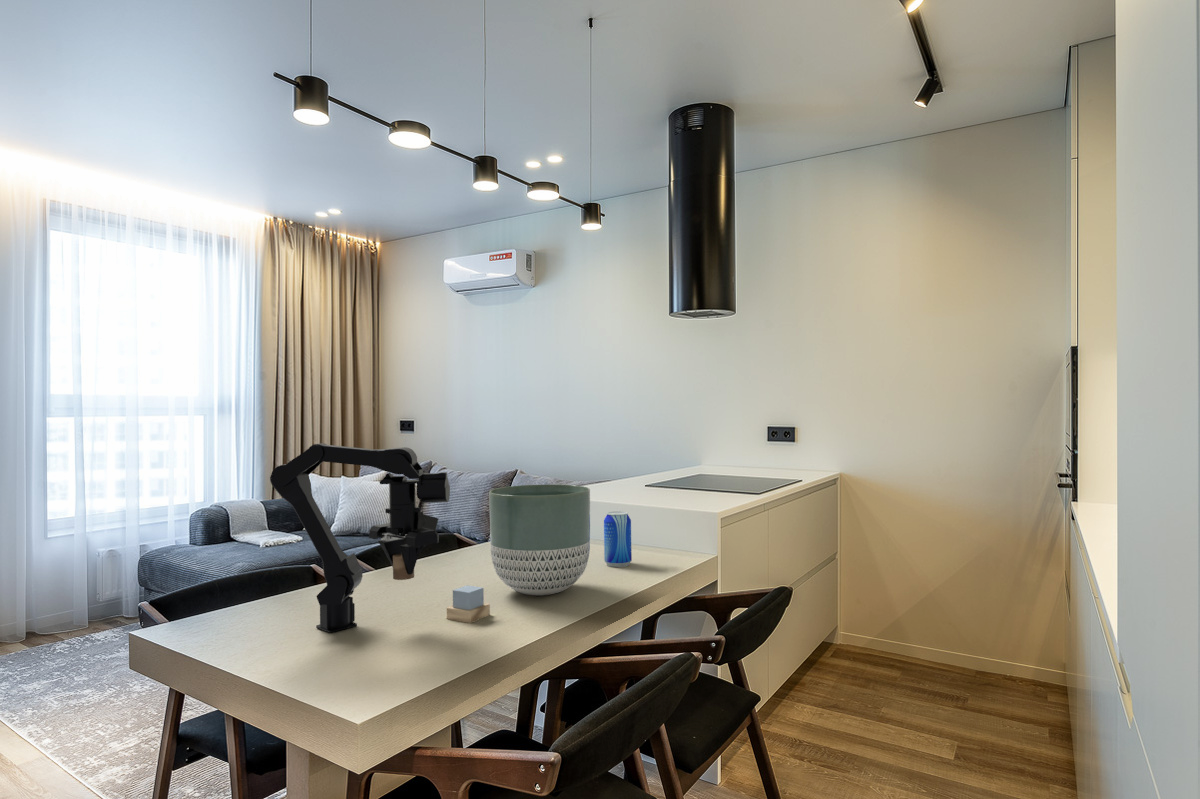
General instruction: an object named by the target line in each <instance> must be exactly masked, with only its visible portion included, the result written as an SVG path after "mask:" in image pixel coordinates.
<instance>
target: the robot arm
mask: <svg viewBox="0 0 1200 799" xmlns="http://www.w3.org/2000/svg"><path fill="white" fill-rule="evenodd" d="M324 462H325V463H334V464H335V463H336V464H344V465H354V466H366V467H372V468H376V469H378V470H380V471H382V472H383V471H384V472H387V473H386V474H385V476H384V477H383V478H382V479H381V480H380V481H379V484H380V485H388V486H389V488H388V491H389V493H388V494H389V497H388V498H389V504H388V505H389V507H387V508H385V514H388V515H389V522H388V523H381V524H375V525H371V527H370V528H369V530H368V532H369V533H368V538H369V539H372V540H378V541H377V544H379V545H380V546H381V549H382V550H383V552H384V554H385V555H386V557H387V559H388V561H389V563H390V565H391V567H392V568H393V555H395V554H401V553H402V557H403V561H404V564H405V568H406V571H407V574H408V575H410V574H412V573H413V571H414V572H415V566H416V564H417V561H418V557H419V555H420V553H421V550H422V549H424V548H425V547H426V546H428V545H434V544H438V543H439V533H438V531H436V530H437V526H438V521H439V518H438V517H434V516H430V515H428V514H424V512H423V511H422V509H421V508H420V507H419V506H416V505H417V504H416V503H417V502H416V498H417V499H418V500H419V501H420V500H421V502H422V503H423V504H425V503H427V504H428V503H429V504H431V503H432V504H433V503H448V502H449V501H450V496H451V486H450V482H449V478H448V472H447V471H441V472H435V473H434V472H432V473H431V472H430V473H429V472H428V473H427V472H426V471H425V470H424V468H423V467H422V465H421V464H420V463H419V461H418V456H417V454H416V452H415V451H414V449H412V448H411V447H393V448H381V449H373V448H372V449H371V448H363V447H353V446H352V447H351V446H345V445H344V446H341V445H332V444H331V445H330V444H326V443H323V442H322V443H313V444H311V445H310V446H309V447H308V448H307V449H306V450H304V451H303V452H302V453H301V454H299V455H298V456H296V457H295V458H292V459H291V460H289V462H287V463H284V464H281V465H277V466H276V467H275V468H274V469H272V471H271V474H270V477H269V481H270V484H271V486H272V487H273V488H274V490H275V491H276V492H277V493H278V495H279V496H280V497H281V498H283V499H284V500H285V501H286V502H287V503H289V504H290V505H291V506H292V508H293V509H294V511H295V514H296V515H297V517H298V519H299V521H300V522H301V524H302V526H303V528H304V530H305V531H306V534H307V535H308V537H309V539H310V541H311V542H312V543H311V544H313V547H314V549H315V550H316V552H317V554H318V555H319V558H320V559H321V562H322V568H323V576H324V577H323V578H324V580H325V582H326V586H325V587H324V588H322V590H321V591H320V592H318V594H316V600H317V602H318V605H319V624H317V625H316V628H317V629H319V630H321V631H325V632H327V633H336V632H339V631H343V630H346V629H351V628H353V627H357V625H358V623H356V622H355V621H356V620H355V618H356V615H355V613H356V612H355V611H356V609H355V603H354V597H352V595H353V594H354V591H355V589H356V588H357V587H358V586H359V585H360V584H361V583H362V580H363V576H364V575H363V572H362V569H363V568H364V567H363V566H362V565H361V564H360V563H359V560H358V559H357V556H356V553H354V552H353V553H351V554H350V555H349V554H347V553H345V552H344V551H343V549H342V548H341V546H340V544H339V542H338V541H337V539H336V537H335V535H334V534H333V533H334V532H333V531H332V530H331V527H329V524H328V522H327V521H326V518H325V517H324V515H323V513H322V511H321V509H320V508H319V506H318V503H317V502H316V500H315V498H314V497H313V490H312V484H311V483H312V482H311V480H310V476H309V475H310V474H311V473H313V472H315V470H316V469H317V468H318V467H319V466H320V465H321V464H322V463H324ZM393 474H394V475H393ZM407 478H408V479H407ZM379 538H380V540H379ZM405 542H406V543H405Z"/></svg>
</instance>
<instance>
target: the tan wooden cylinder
mask: <svg viewBox="0 0 1200 799" xmlns="http://www.w3.org/2000/svg"><path fill="white" fill-rule="evenodd" d="M413 578H415V570H414V571H413V573H412V574H410V575H408V574H407V571H406V568H405V564H404V561H403V557H402V553H401V554H395V555H393V567H392V579H393V580H395V581H403V580H405V581H406V580H411V579H413Z"/></svg>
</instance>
